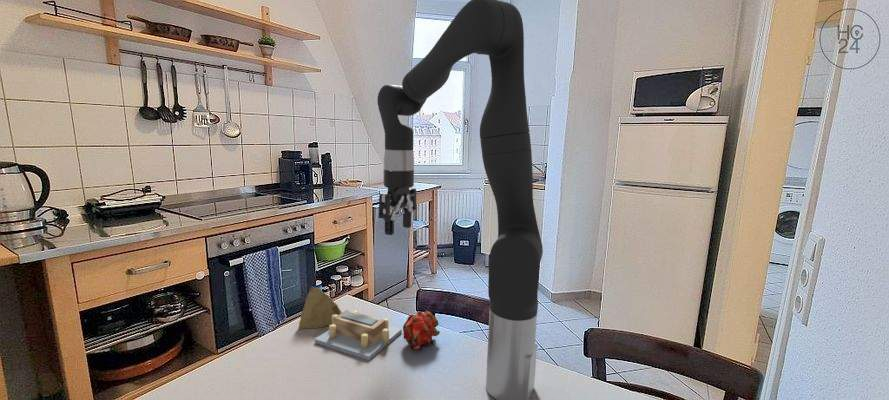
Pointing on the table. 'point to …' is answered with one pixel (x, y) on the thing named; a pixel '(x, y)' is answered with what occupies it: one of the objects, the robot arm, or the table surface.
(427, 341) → the dragon fruit
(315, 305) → the rock
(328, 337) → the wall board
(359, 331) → the frame
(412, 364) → the table surface
